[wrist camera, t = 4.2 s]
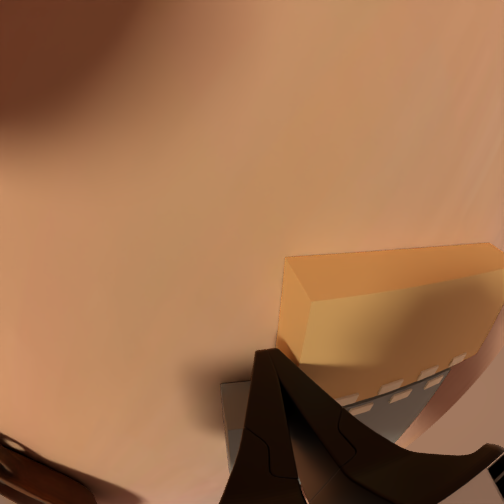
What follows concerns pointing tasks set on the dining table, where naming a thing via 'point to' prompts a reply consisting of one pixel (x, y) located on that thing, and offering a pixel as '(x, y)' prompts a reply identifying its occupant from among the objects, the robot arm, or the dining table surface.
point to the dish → (38, 482)
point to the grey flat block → (367, 411)
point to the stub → (387, 314)
